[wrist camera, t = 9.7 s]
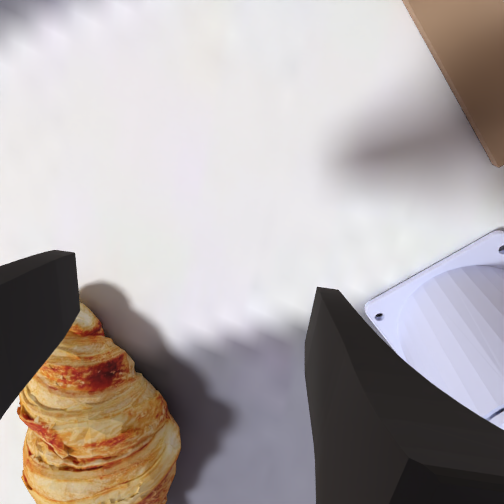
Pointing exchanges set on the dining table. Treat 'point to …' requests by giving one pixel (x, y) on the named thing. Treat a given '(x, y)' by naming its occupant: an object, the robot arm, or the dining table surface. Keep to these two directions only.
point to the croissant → (96, 425)
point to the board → (469, 60)
